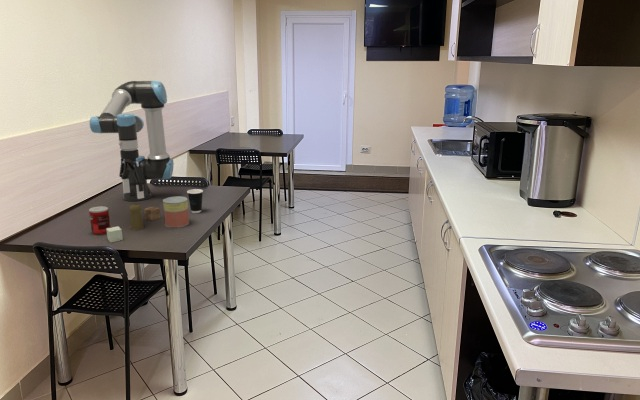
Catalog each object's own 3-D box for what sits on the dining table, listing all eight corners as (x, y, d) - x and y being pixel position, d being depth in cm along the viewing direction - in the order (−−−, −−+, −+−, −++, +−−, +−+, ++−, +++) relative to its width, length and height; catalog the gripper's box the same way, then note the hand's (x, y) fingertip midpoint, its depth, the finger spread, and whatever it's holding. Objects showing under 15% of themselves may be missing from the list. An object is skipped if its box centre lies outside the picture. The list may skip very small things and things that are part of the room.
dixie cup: (189, 214, 241) (187, 193, 238) (187, 210, 248) (186, 189, 245) (205, 213, 244) (203, 192, 241) (203, 208, 251) (202, 188, 248)
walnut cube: (145, 218, 234) (144, 209, 233) (153, 216, 239) (152, 206, 237) (152, 220, 232) (151, 210, 231) (160, 217, 236) (159, 208, 235)
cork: (127, 228, 220) (124, 206, 217) (136, 224, 225) (134, 202, 222) (137, 230, 218) (135, 207, 215) (146, 226, 223) (144, 204, 220)
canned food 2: (193, 221, 232) (191, 197, 228) (182, 228, 221) (180, 203, 218) (172, 219, 234) (170, 195, 231) (160, 226, 223) (157, 202, 220)
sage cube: (107, 239, 207) (106, 228, 206) (119, 237, 210) (118, 226, 209) (110, 242, 203) (109, 231, 202) (122, 240, 206) (121, 229, 205)
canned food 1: (96, 228, 220) (93, 206, 216) (113, 229, 219) (111, 206, 216) (88, 234, 212) (85, 211, 209) (106, 234, 212) (103, 211, 209)
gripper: (108, 146, 217) (113, 192, 223) (134, 153, 200) (138, 202, 206) (124, 145, 222) (129, 189, 228) (150, 151, 206) (155, 199, 211)
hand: (133, 195), depth 217 cm, fingers open, 13 cm apart
